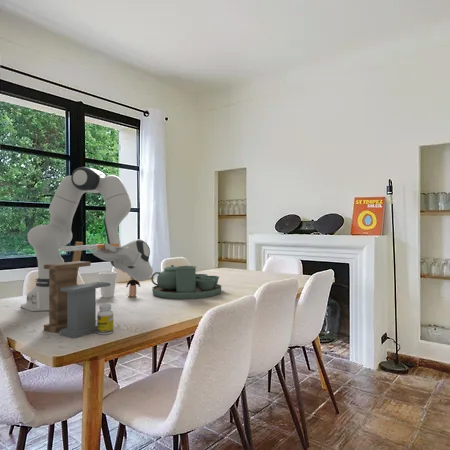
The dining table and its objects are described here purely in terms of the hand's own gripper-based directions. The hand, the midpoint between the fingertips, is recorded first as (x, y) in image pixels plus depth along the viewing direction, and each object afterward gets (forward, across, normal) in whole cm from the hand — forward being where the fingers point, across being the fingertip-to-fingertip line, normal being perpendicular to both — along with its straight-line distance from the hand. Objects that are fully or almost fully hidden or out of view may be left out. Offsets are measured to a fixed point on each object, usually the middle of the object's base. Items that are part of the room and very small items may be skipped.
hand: (101, 244), depth 141 cm
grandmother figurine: (-55, -28, +4) cm, 62 cm away
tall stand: (-7, -7, +32) cm, 33 cm away
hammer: (-50, -72, +6) cm, 88 cm away
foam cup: (-50, -41, +7) cm, 65 cm away
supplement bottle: (-8, +12, +31) cm, 34 cm away
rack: (-6, +4, +32) cm, 33 cm away
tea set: (-76, -10, -8) cm, 77 cm away
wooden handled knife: (+3, 0, +4) cm, 5 cm away
